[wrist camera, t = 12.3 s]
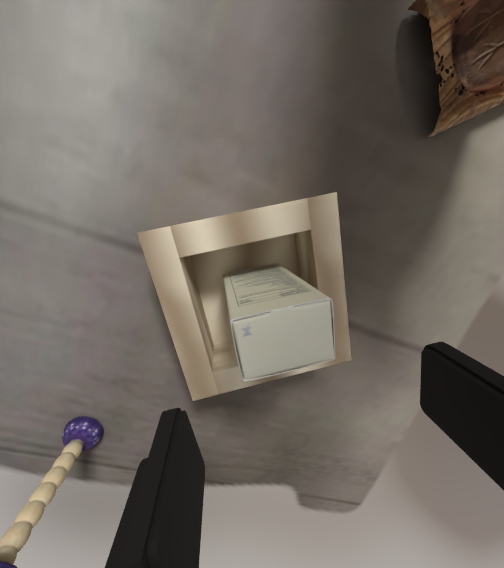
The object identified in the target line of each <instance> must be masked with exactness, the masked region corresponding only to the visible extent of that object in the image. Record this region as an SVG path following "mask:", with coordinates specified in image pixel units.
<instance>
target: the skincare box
mask: <svg viewBox="0 0 504 568" xmlns="http://www.w3.org/2000/svg"><path fill="white" fill-rule="evenodd" d="M223 279H224V286H225V292H226V299H227V305H228V311H229V319H230V325H231V331H232V336H233V342H234V347H235V352H236V356H237V361H238V365H239V369H240V373H241V377H242V380H243V381H250V380H256V379H261V378H265V377H270V376H274V375H278V374H282V373H286V372H291V371H294V370H298V369H302V368H306V367H310V366H314V365H317V364H321V363H324V362H328V361H331V360H334V359H335V329H334V309H333V300H332V299H331V298H329V297H328V296H326V295H325V294H323V293H322V292H320V291H319V290H317V289H316V288H314V287H313V286H311V285H310V284H308V283H307V282H305V281H304V280H302V279H301V278H299V277H298V276H296V275H295V274H293V273H292V272H290V271H289V270H287V269H285V268H284V267H282V266H281V265H279V264H278V263H276V264H270V265H264V266H258V267H253V268H248V269H243V270H239V271H234V272H230V273H226V274H223Z"/></svg>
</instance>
